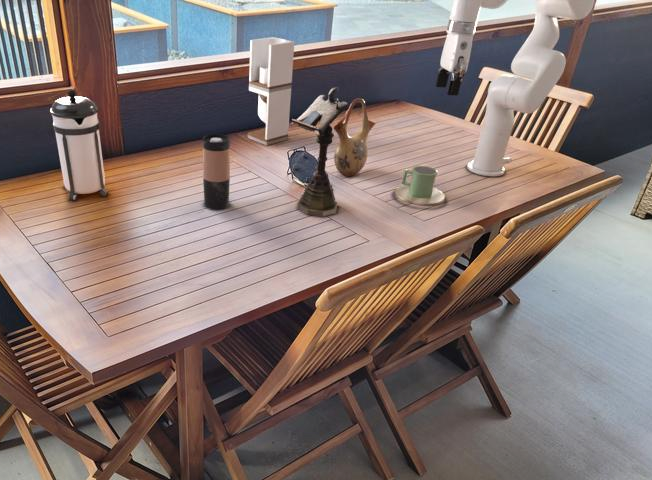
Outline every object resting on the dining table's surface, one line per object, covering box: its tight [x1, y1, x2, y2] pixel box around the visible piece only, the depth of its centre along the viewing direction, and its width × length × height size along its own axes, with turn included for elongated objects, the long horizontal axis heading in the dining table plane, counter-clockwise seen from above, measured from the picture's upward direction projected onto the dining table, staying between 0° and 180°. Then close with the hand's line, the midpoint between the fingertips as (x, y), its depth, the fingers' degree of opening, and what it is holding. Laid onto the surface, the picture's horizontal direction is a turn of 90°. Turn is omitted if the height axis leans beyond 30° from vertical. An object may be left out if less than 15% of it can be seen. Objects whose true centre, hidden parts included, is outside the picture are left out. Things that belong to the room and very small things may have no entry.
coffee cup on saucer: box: [394, 165, 446, 207], centre depth 175 cm, size 15×15×8 cm
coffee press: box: [49, 89, 109, 201], centre depth 165 cm, size 17×16×30 cm
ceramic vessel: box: [333, 97, 376, 177], centre depth 185 cm, size 16×9×25 cm, turn 121°
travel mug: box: [202, 133, 231, 211], centre depth 163 cm, size 8×8×20 cm
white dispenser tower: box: [247, 36, 295, 146], centre depth 210 cm, size 11×11×35 cm
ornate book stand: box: [290, 86, 349, 217], centre depth 157 cm, size 17×13×35 cm
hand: (446, 90), depth 169 cm, fingers open, 9 cm apart
